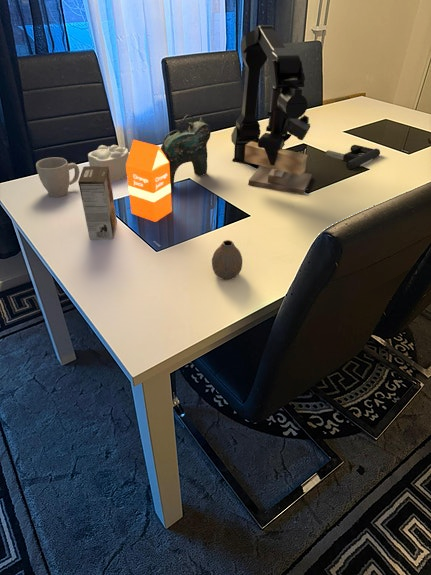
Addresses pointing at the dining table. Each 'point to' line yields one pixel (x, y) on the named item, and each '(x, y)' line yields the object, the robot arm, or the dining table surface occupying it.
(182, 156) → the dark green animal statue
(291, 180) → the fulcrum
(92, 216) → the coffee box
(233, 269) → the vase
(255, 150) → the oak beam
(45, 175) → the mug
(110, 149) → the lumpy-topped squat cylinder
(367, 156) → the door handle
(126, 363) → the dining table surface
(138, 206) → the orange juice
